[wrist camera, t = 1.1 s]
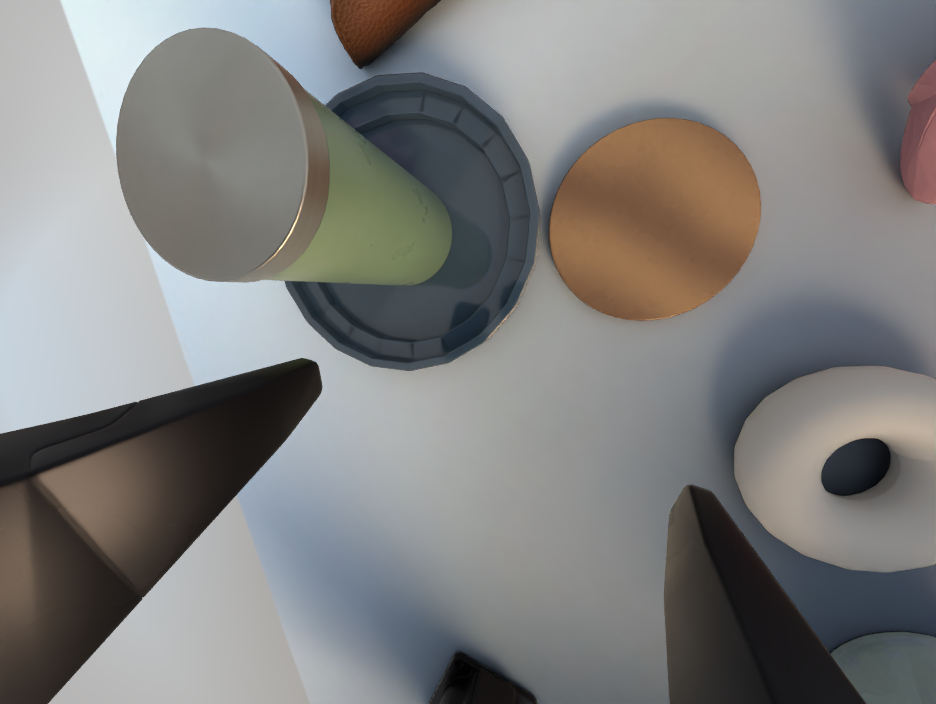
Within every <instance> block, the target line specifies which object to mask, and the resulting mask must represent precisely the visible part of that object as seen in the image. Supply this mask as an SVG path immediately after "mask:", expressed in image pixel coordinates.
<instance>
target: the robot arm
mask: <svg viewBox="0 0 936 704" xmlns="http://www.w3.org/2000/svg"><path fill="white" fill-rule="evenodd" d="M321 392H322V381H321V376H320V371H319V366H318V364H317V363H316V362H314V361H311V360H308V359H305V358H300V359H296V360H292V361H289V362H285V363H281V364H277V365H273V366H270V367H266V368H262V369H258V370H254V371H251V372H247V373H243V374H239V375H236V376H232V377H228V378H224V379H220V380H217V381H213V382H209V383H205V384H202V385H198V386H194V387H190V388H187V389H183V390H180V391H175V392H171V393H168V394H164V395H160V396H156V397H152V398H149V399H145V400H141V401H139V402H133V403H130V404H126V405H122V406H118V407H114V408H110V409H107V410H103V411H99V412H95V413H91V414H87V415H82V416H78V417H74V418H70V419H66V420H61V421H56V422H52V423H48V424H43V425H38V426H34V427H30V428H25V429H20V430H16V431H11V432H7V433H3V434H0V704H48V703H49V702H50V701H51V700H52V698H53V697H54V696H55V695H56V694H57V693H58V692H59V691H60V690H61V689H62V687H63V686H64V685H65V684H66V683H67V682H68V681H69V680H70V679H71V677H72V676H73V675H74V674H75V673H76V672H77V671H78V670H79V669H80V667H81V666H82V665H83V664H84V663H85V662H86V661H87V660H88V659H89V658H90V656H91V655H92V654H93V653H94V652H95V651H96V650H97V649H98V648H99V646H100V645H101V644H102V643H103V642H104V641H105V640H106V639H107V638H108V636H109V635H110V634H111V633H112V632H113V631H114V630H115V629H116V627H118V626H119V624H120V623H121V622H122V621H123V620H124V619H125V618H126V617H127V615H128V614H129V613H130V612H131V611H132V610H133V609H134V608H135V607H136V605H137V604H138V603H139V602H140V601H141V600H142V597H144V596H145V595H146V594H147V593H148V592H149V591H150V590H151V588H153V586H154V585H155V584H156V583H157V582H158V581H159V580H160V579H161V578H162V577H163V575H164V574H165V573H166V572H167V571H168V570H169V569H170V568H171V567H172V565H173V564H174V563H175V562H176V561H177V560H178V559H179V558H180V557H181V556H182V554H183V553H184V552H185V551H186V550H187V549H188V548H189V547H190V546H191V545H192V543H193V542H194V541H195V540H196V539H197V538H198V537H199V536H200V535H201V533H202V532H203V531H204V530H205V529H206V528H207V527H208V526H209V525H210V523H211V522H212V521H213V520H214V519H215V518H216V517H217V516H218V515H219V514H220V512H221V511H222V510H223V509H224V508H225V507H226V506H227V505H228V504H229V503H230V501H231V500H232V499H233V498H234V497H235V496H236V495H237V494H238V493H239V492H240V490H241V489H242V488H243V487H244V486H245V485H246V484H247V483H248V482H249V480H250V479H251V478H252V477H253V476H254V475H255V474H256V473H257V472H258V471H259V469H260V468H261V467H262V466H263V465H264V464H265V463H266V462H267V461H268V459H269V458H270V457H271V456H272V455H273V454H274V453H275V452H276V451H277V450H278V448H279V447H280V446H281V445H282V444H283V443H284V442H285V440H286V439H287V438H288V437H289V435H290V434H291V433H292V432H293V430H294V429H295V428H296V426H297V425H298V424H299V422H300V421H301V420H302V418H303V417H304V416H305V414H306V413H307V412H308V410H309V409H310V408H311V406H312V405H313V404H314V402H315V401H316V400H317V398H318V397H319V395H320V394H321ZM664 609H665V627H666V645H667V663H668V681H669V699H670V704H866V702H865V701H864V700H863V698H862V697H861V695H860V694H859V693H858V691H857V690H856V689H855V687H854V686H853V684H852V683H851V682H850V680H849V679H848V678H847V676H846V675H845V673H844V672H843V671H842V669H841V668H840V667H839V665H838V664H837V662H836V661H835V660H834V658H833V657H832V656H831V654H830V653H829V651H828V650H827V649H826V647H825V646H824V645H823V643H822V642H821V640H820V639H819V638H818V636H817V635H816V634H815V632H814V631H813V629H812V628H811V627H810V625H809V624H808V623H807V621H806V620H805V618H804V617H803V616H802V614H801V613H800V612H799V610H798V609H797V607H796V606H795V605H794V603H793V602H792V601H791V599H790V598H789V596H788V595H787V594H786V592H785V591H784V590H783V588H782V587H781V585H780V584H779V583H778V581H777V580H776V579H775V577H774V576H773V574H772V573H771V572H770V570H769V569H768V568H767V566H766V565H765V563H764V562H763V561H762V559H761V558H760V557H759V555H758V554H757V552H756V551H755V550H754V548H753V547H752V546H751V544H750V543H749V541H748V540H747V539H746V537H745V536H744V535H743V533H742V532H741V530H740V529H739V528H738V526H737V525H736V524H735V522H734V521H733V519H732V518H731V517H730V515H729V514H728V513H727V511H726V510H725V508H724V507H723V506H722V504H721V503H720V502H719V500H718V499H717V497H716V496H715V495H714V494H713V493H712V492H711V491H709V490H707V489H704V488H701V487H698V486H694V485H687V486H686V487H685V488H684V489H683V491H682V492H681V494H680V495H679V497H678V499H677V500H676V502H675V504H674V505H673V507H672V509H671V511H670V515H669V523H668V538H667V554H666V570H665V587H664ZM429 704H537V700H536V698H535V697H533V696H532V695H530V694H529V693H527V692H525V691H524V690H522V689H520V688H519V687H517V686H515V685H514V684H512V683H510V682H509V681H507V680H505V679H504V678H502V677H500V676H499V675H497V674H495V673H494V672H492V671H490V670H489V669H487V668H485V667H484V666H482V665H480V664H479V663H477V662H475V661H474V660H472V659H470V658H469V657H467V656H465V655H464V654H462V653H455V654H454V655H453V657H452V659H451V661H450V663H449V665H448V667H447V669H446V671H445V673H444V675H443V677H442V679H441V681H440V683H439V685H438V687H437V689H436V690H435V692H434V694H433V696H432V698H431V700H430V702H429Z"/></svg>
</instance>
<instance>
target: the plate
mask: <svg viewBox="0 0 936 704" xmlns="http://www.w3.org/2000/svg"><path fill="white" fill-rule="evenodd" d="M325 106H326V107H327V108H329V109H330V110H331V111H332V112H334V113H335V114H336V115H337V116H339V117H340V118H341V119H342V120H344V121H345V122H346V123H347V124H349V125H350V126H351V127H352V128H354V129H355V130H356V131H357V132H359V133H360V134H361V135H362V136H364V137H365V138H366V139H367V140H369V141H370V142H371V143H372V144H374V145H375V146H376V147H377V148H379V149H380V150H381V151H382V152H384V153H385V154H386V155H387V156H389V157H390V158H391V159H392V160H394V161H395V162H396V163H397V164H399V165H400V166H401V167H402V168H404V169H405V170H406V171H407V172H409V173H410V174H411V175H412V176H414V177H415V178H416V179H417V180H419V181H420V182H421V183H422V184H424V185H425V186H426V187H427V188H429V189H430V190H431V191H432V192H433V193H435V194H436V195H437V196H438V197H439V199H440V200H441V201H442V202H443V204H444V206H445V207H446V209H447V211H448V214H449V217H450V221H451V226H452V242H451V247H450V251H449V254H448V256H447V258H446V260H445V262H444V264H443V265H442V267H441V268H440V269H439V270H438V271H437V272H436V273H435V274H434V275H433V276H432V277H430V278H429V279H427V280H426V281H424V282H421V283H419V284H415V285H408V286H402V285H378V284H353V283H329V282H304V281H285V284H286V287H287V289H288V291H289V293H290V294H291V296H292V298H293V299H294V301H295V303H296V304H297V306H298V308H299V309H300V311H301V313H302V314H303V316H304V318H305V319H306V321H307V322H308V323H309V324H310V325H311V326H312V327H313V328H314V329H315V330H316V331H317V332H318V333H319V334H320V335H321V336H322V337H324V338H325V339H326V340H327V341H328V342H329V343H330V344H331V345H332V346H333V347H334V348H335V349H337V350H339V351H341V352H343V353H345V354H347V355H349V356H351V357H353V358H355V359H358V360H360V361H362V362H364V363H366V364H368V365H370V366H374V367H382V368H389V369H397V370H405V371H412V370H417V369H422V368H427V367H432V366H437V365H442V364H447V363H450V362H451V361H453V360H455V359H457V358H458V357H460V356H462V355H463V354H465V353H467V352H468V351H470V350H472V349H473V348H475V347H477V346H479V345H480V344H482V343H484V342H485V341H487V340H488V339H489V338H490V337H491V336H492V335H493V334H494V333H495V332H496V331H497V329H498V328H499V327H500V326H501V325H502V324H503V323H504V321H505V320H506V319H507V318H508V317H509V316H510V315H511V313H512V312H513V311H514V310H515V309H516V308H517V306H518V305H519V302H520V300H521V298H522V295H523V293H524V291H525V288H526V286H527V284H528V281H529V279H530V277H531V274H532V272H533V270H534V268H535V264H536V258H537V248H538V239H539V229H540V219H541V218H540V211H539V206H538V202H537V197H536V192H535V187H534V183H533V178H532V173H531V168H530V164H529V161H528V159H527V157H526V155H525V154H524V152H523V150H522V149H521V147H520V145H519V143H518V142H517V140H516V138H515V137H514V135H513V133H512V132H511V130H510V128H509V126H508V125H507V123H506V121H505V120H504V118H503V117H502V116H501V115H500V114H498V113H497V112H496V111H495V110H493V109H492V108H491V107H490V106H489V105H487V104H486V103H485V102H484V101H483V100H481V99H480V98H479V97H478V96H477V95H475V94H474V93H473V92H472V91H470V90H469V89H468V88H467V87H465V86H462V85H459V84H456V83H453V82H450V81H447V80H444V79H441V78H438V77H434V76H431V75H428V74H425V73H405V74H390V75H378V76H375V77H373V78H371V79H368V80H366V81H364V82H362V83H360V84H357V85H355V86H353V87H351V88H349V89H346V90H344V91H342V92H340V93H338V94H337V95H336V96H335V97H333V98H332V99H331V100H330V101H329V102H328V103H327V104H326V105H325Z"/></svg>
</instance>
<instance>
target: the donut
mask: <svg viewBox="0 0 936 704" xmlns="http://www.w3.org/2000/svg"><path fill="white" fill-rule="evenodd" d="M862 438H877V439H880V440H881V441H883V442H884V443H885V444H886V445H887V446H888V447H889V450H890V453H891V459H890V467H889V469H888V471H887V473H886V475H885V477H884V478H883V479H882V480H881V481H880V482H879V483H878V484H877V485H876V486H874V487H872V488H870V489H868V490H866V491H864V492H862V493H859V494H854V495H849V496H838V495H834V494H831V493H829V492H827V491H826V490H825V489H824V487H823V485H822V482H821V471H822V469H823V466H824V464H825V462H826V460H827V458H828V457H829V456H830V455H831V454H832V453H833V452H834V451H835V450H836V449H838V448H839V447H841V446H843V445H845V444H847V443H849V442H850V441H854V440H858V439H862ZM734 476H735V479H736V481H737V484H738V486H739V489H740V492H741V494H742V497H743V499H744V502H745V504H746V506H747V507H748V509H749V510H750V511H751V512H752V513H753V515H754V516H755V517H756V518H757V519H758V520H759V521H760V523H761V524H762V525H763V526H764V527H765V528H766V530H767V531H768V532H769V533H771V534H772V535H773V536H775V537H776V538H778V539H779V540H781V541H782V542H784V543H785V544H787V545H789V546H790V547H792V548H793V549H795V550H797V551H798V552H800V553H801V554H803V555H804V556H807V557H811V558H814V559H817V560H820V561H823V562H826V563H829V564H833V565H836V566H839V567H842V568H845V569H848V570H860V571H873V572H887V573H888V572H895V571H901V570H908V569H914V568H920V567H927V566H931V565H933V564H936V379H933V378H931V377H928V376H926V375H922V374H918V373H913V372H909V371H904V370H899V369H895V368H890V367H886V366H852V367H833V368H829V369H826V370H822V371H819V372H816V373H812V374H809V375H806V376H802V377H799V378H796V379H794V380H793V381H791V382H789V383H788V384H786V385H784V386H783V387H781V388H780V389H778V390H776V391H775V392H773V393H772V394H770V395H768V396H767V397H765V398H764V399H763V400H762V402H761V403H760V404H759V405H758V406H757V407H756V408H755V410H754V411H753V412H752V413H751V414H750V415H749V416H748V418H747V419H746V420H745V422H744V425H743V427H742V430H741V432H740V435H739V437H738V440H737V442H736V445H735V448H734Z"/></svg>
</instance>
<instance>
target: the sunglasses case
mask: <svg viewBox="0 0 936 704" xmlns="http://www.w3.org/2000/svg"><path fill="white" fill-rule="evenodd" d="M440 1H441V0H330V4H331V18H332V22H333V24H334V28H335V31H336V33H337V35H338V37H339V39H340V41H341V43H342V44H343V46H344V49H345V50H346V51H347V53H348V54H349V56H350V57H351V59H352V61H353V62H354V64H355V65H357V66H358V68H359V69H362V68H363V67H364V66H367V65H369V64H371V63H372V62H373V61H374V60H376V59H377V58H378V57H379V56H380V55H381V54H382V53H383V52H384V51H385V50H387V49H388V48H389V47H390V46H392V45H393V44H394V43H395V42H396V41H397V40H398V39H399V38H400V37H401V36H402V35H403V34H404V33H405V32H406V31H407V30H408V29H409V28H411V27H412V26H413V25H414V24H415V23H416V22H417V21H418V20H419V19H420V18H421V17H422V16H423V15H424V14H425V13H426V12H427V11H429V10H430V9H431V8H433V7H434V6H435V5H437V4H438V3H439V2H440Z"/></svg>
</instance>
